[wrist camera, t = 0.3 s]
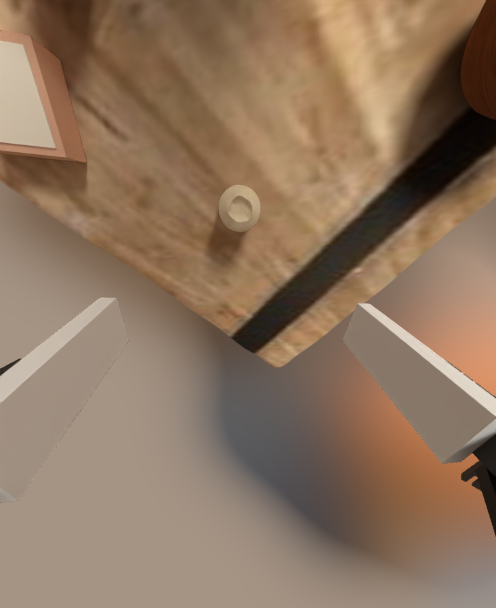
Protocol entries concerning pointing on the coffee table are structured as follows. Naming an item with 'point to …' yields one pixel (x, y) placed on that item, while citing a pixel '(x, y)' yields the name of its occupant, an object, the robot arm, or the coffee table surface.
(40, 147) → the riser
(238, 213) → the candle
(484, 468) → the robot arm
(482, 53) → the bowl
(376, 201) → the coffee table surface
